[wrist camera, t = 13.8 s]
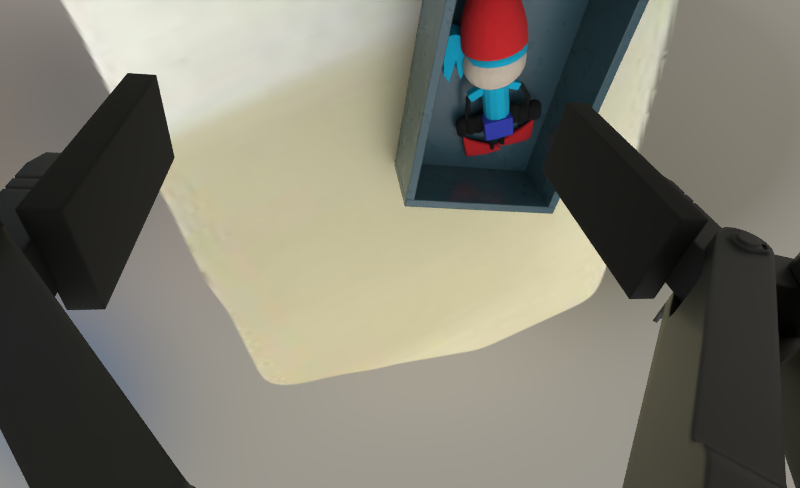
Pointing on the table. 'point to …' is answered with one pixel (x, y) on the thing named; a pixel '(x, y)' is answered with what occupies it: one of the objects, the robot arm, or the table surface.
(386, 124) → the table surface
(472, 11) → the toy figure
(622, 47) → the tote
